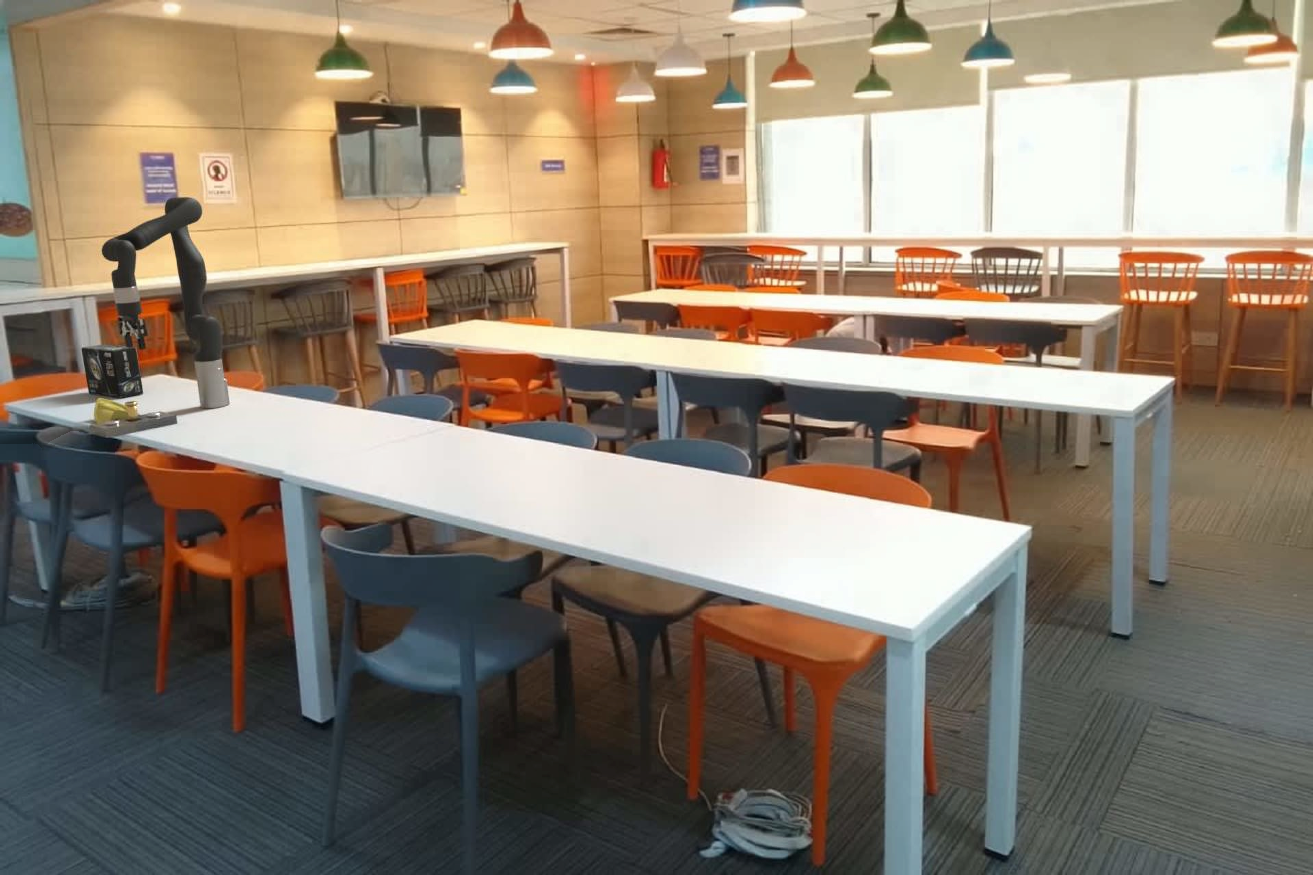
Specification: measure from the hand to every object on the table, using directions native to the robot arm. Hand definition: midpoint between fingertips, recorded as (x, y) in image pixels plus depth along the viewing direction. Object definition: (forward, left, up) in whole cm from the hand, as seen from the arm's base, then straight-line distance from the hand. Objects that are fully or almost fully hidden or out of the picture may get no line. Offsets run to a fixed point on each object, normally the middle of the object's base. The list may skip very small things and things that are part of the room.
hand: (136, 348), depth 355 cm
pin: (+6, +4, -26) cm, 27 cm away
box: (-21, -65, -27) cm, 73 cm away
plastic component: (+4, -14, -27) cm, 30 cm away
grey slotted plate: (+6, +4, -26) cm, 27 cm away
